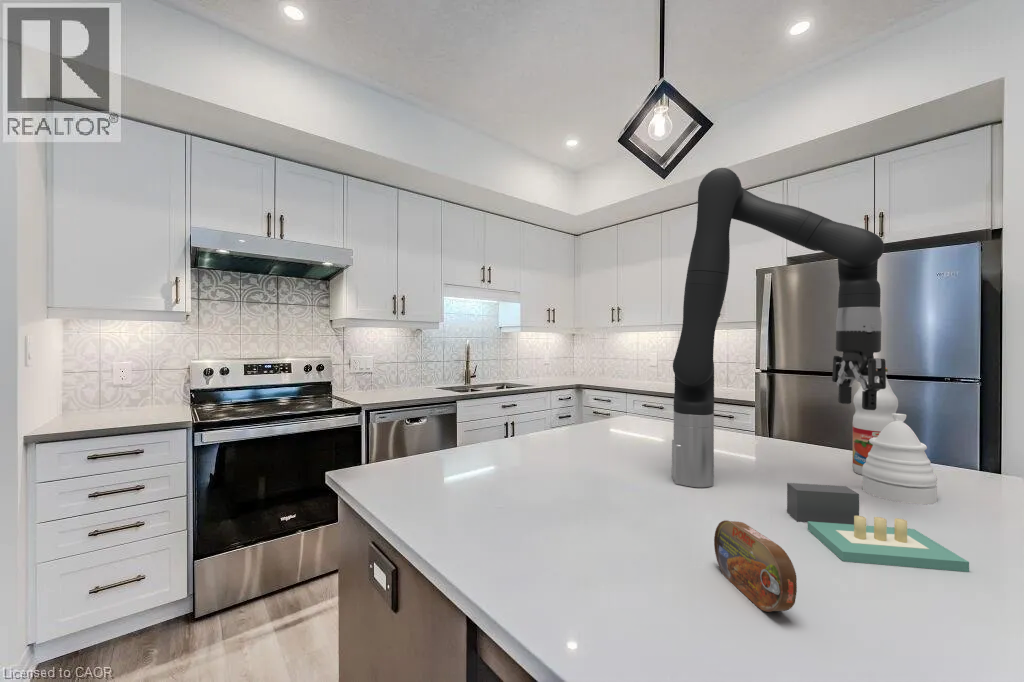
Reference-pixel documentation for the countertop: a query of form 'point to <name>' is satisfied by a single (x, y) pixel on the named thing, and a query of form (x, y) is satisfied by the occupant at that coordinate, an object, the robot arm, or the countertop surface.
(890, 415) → the fruit juice
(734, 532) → the tin
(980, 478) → the countertop surface
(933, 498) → the honey pot
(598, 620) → the countertop surface
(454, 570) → the countertop surface
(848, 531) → the header board
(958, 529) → the countertop surface
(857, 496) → the block
